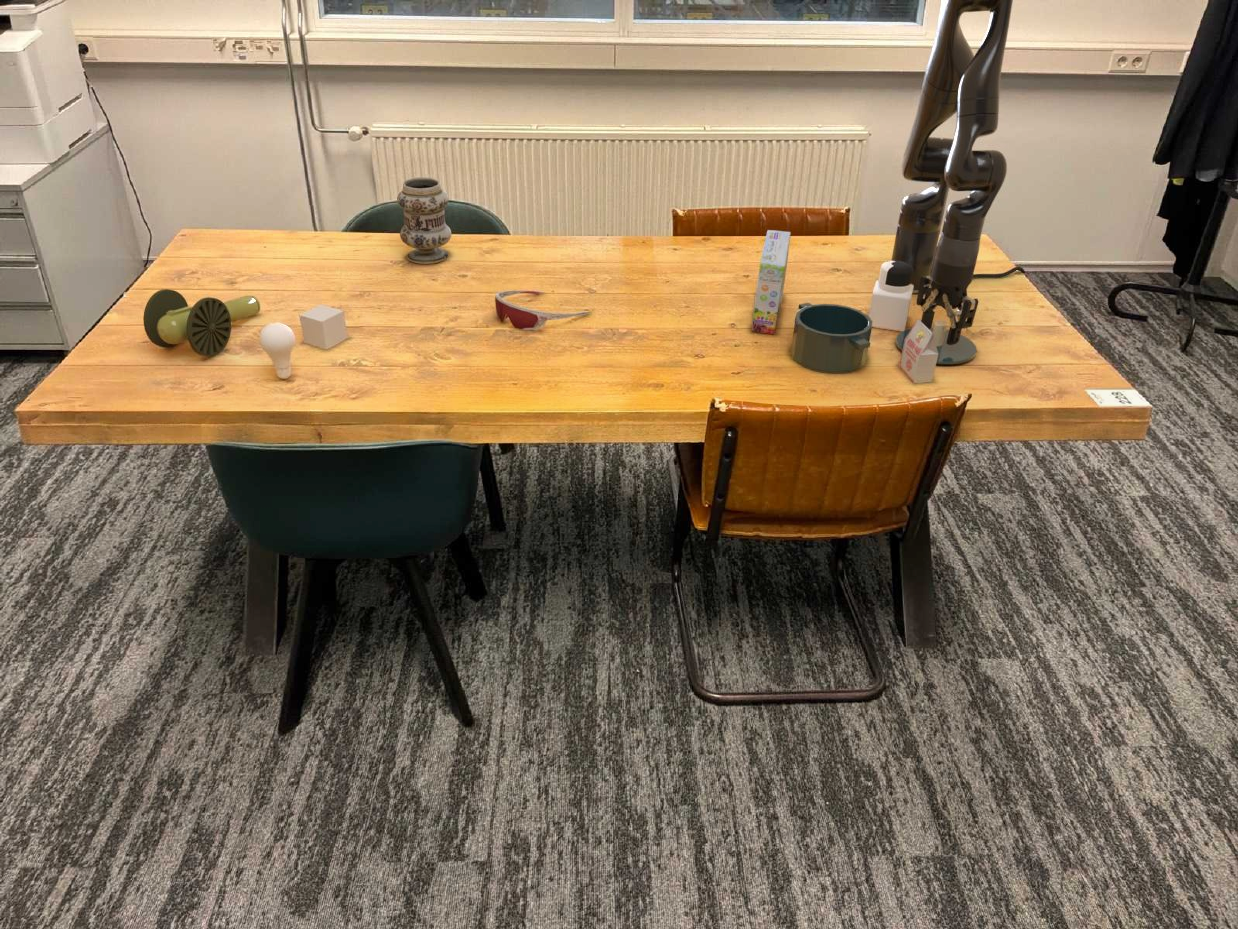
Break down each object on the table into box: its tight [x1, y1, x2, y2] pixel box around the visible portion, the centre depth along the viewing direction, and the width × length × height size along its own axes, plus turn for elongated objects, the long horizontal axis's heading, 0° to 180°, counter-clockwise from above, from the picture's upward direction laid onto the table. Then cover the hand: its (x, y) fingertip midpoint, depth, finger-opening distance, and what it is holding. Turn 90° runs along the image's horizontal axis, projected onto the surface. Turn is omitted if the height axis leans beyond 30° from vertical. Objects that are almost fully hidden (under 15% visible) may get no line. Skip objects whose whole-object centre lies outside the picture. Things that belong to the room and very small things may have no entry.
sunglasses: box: [494, 289, 589, 331], centre depth 200 cm, size 17×17×5 cm
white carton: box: [898, 318, 938, 384], centre depth 179 cm, size 4×7×10 cm, turn 10°
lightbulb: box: [258, 322, 296, 380], centre depth 173 cm, size 6×6×11 cm
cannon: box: [143, 288, 261, 358], centre depth 186 cm, size 25×12×11 cm, turn 160°
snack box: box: [750, 229, 792, 335], centre depth 199 cm, size 21×6×15 cm, turn 168°
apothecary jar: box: [396, 177, 452, 265], centre depth 222 cm, size 12×12×18 cm
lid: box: [895, 320, 978, 365], centre depth 189 cm, size 16×16×6 cm
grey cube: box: [298, 304, 349, 350], centre depth 188 cm, size 6×6×6 cm
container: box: [868, 260, 914, 333], centre depth 197 cm, size 8×8×13 cm
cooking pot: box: [790, 302, 873, 374], centre depth 185 cm, size 15×20×8 cm
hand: (938, 336), depth 189 cm, fingers open, 7 cm apart
